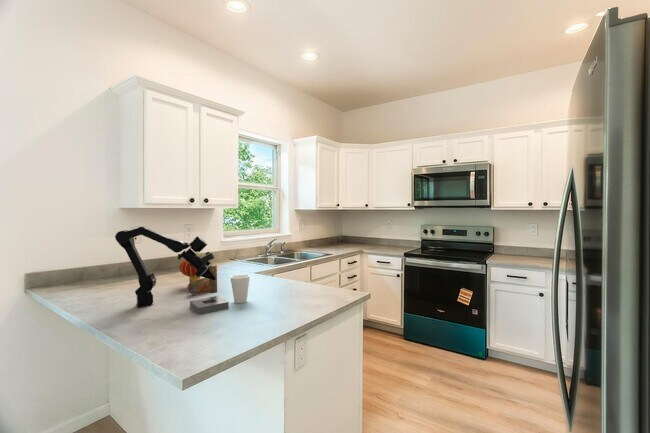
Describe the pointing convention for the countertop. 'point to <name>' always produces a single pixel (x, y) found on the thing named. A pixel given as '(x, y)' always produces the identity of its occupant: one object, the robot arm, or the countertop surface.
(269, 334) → the countertop surface
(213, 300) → the socket block
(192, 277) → the lantern
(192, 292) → the tin
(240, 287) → the foam cup
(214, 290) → the peg
